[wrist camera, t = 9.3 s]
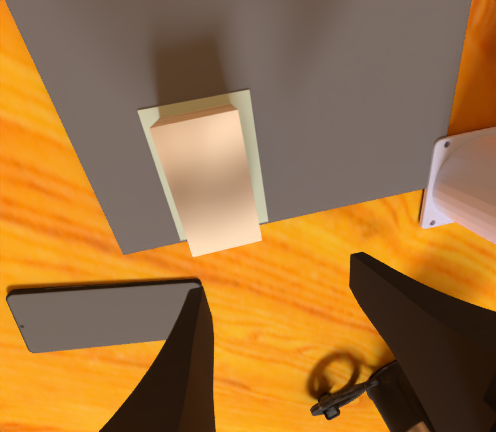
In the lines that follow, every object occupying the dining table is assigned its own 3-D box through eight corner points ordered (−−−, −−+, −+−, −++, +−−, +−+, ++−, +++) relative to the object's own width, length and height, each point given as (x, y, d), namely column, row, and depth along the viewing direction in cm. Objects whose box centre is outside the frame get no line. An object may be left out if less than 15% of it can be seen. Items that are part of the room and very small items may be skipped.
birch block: (251, 213, 21) (262, 240, 17) (194, 226, 21) (193, 257, 17) (230, 102, 17) (238, 109, 14) (159, 117, 17) (149, 128, 13)
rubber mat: (488, -128, 15) (497, -134, 14) (434, 184, 23) (438, 186, 23) (-17, -55, 13) (-24, -60, 12) (124, 252, 21) (123, 255, 21)
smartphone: (203, 337, 26) (29, 355, 24) (202, 329, 27) (34, 346, 25) (201, 281, 23) (1, 294, 21) (201, 274, 24) (8, 286, 22)
